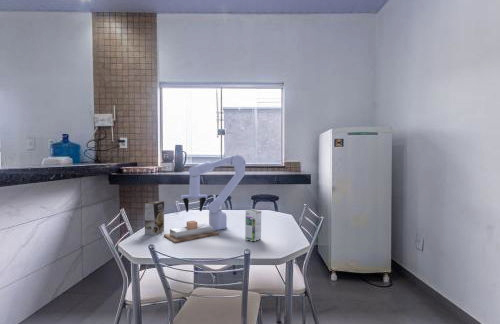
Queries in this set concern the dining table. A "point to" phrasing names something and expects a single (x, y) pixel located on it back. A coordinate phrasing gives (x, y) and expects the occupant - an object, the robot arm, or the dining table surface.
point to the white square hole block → (190, 231)
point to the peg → (191, 225)
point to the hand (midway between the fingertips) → (193, 211)
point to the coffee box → (154, 217)
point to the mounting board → (190, 237)
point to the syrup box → (253, 225)
